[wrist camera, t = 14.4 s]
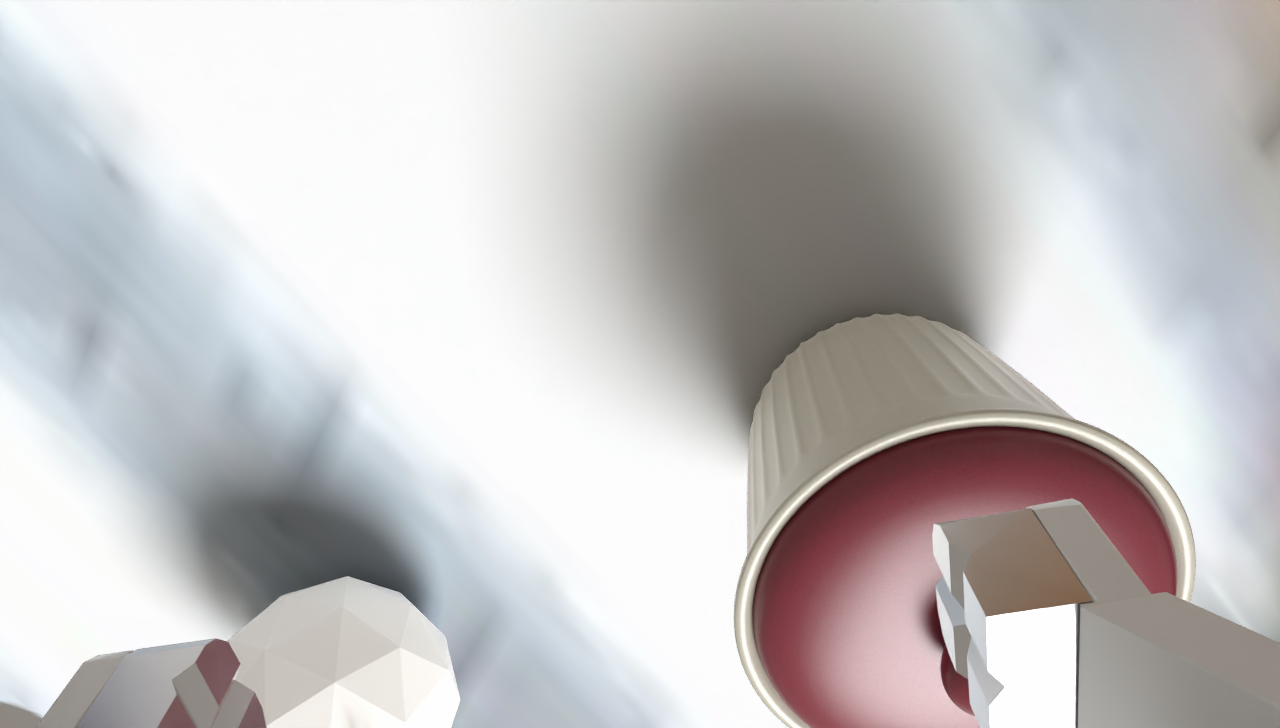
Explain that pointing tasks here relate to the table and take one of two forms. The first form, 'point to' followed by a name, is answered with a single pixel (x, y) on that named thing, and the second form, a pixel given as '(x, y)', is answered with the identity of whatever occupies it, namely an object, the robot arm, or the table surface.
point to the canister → (908, 514)
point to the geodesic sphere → (347, 660)
